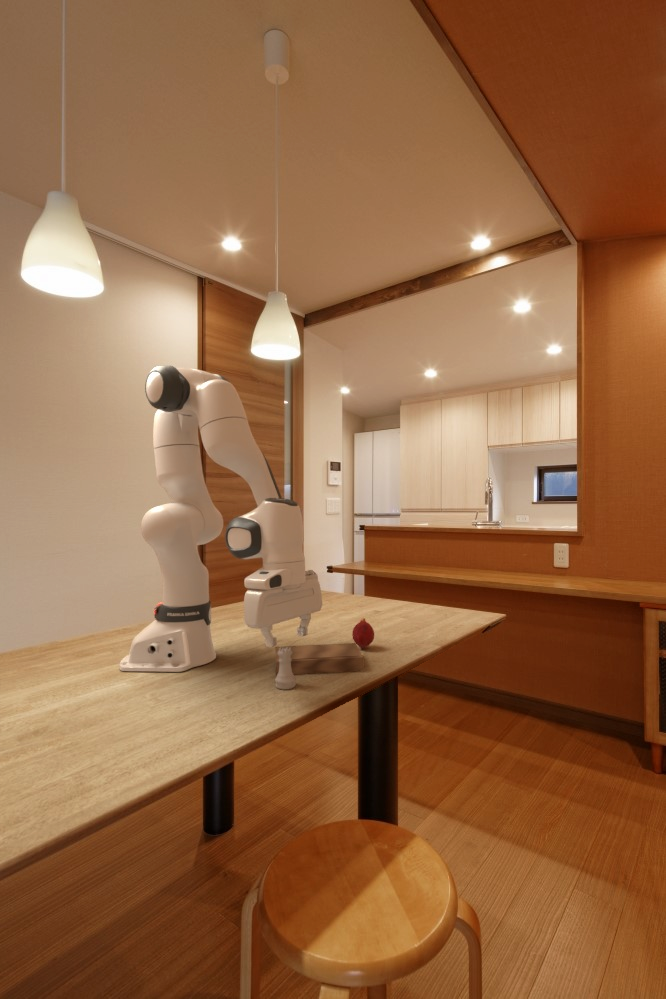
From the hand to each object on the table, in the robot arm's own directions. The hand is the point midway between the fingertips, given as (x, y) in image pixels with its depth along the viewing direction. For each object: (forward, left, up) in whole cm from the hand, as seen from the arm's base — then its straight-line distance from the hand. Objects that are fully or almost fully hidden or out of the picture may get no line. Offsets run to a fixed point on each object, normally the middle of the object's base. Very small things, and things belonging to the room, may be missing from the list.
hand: (287, 640), depth 104 cm
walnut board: (+7, +14, -10) cm, 18 cm away
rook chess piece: (-1, +1, -10) cm, 10 cm away
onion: (+20, +25, -10) cm, 33 cm away
